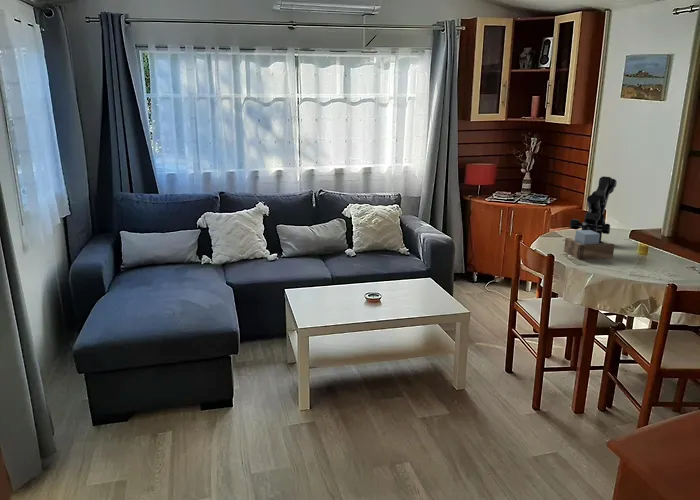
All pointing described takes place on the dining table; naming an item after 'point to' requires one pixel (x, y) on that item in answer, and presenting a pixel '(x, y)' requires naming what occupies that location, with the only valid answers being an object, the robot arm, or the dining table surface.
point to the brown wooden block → (588, 250)
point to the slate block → (587, 237)
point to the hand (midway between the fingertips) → (586, 240)
